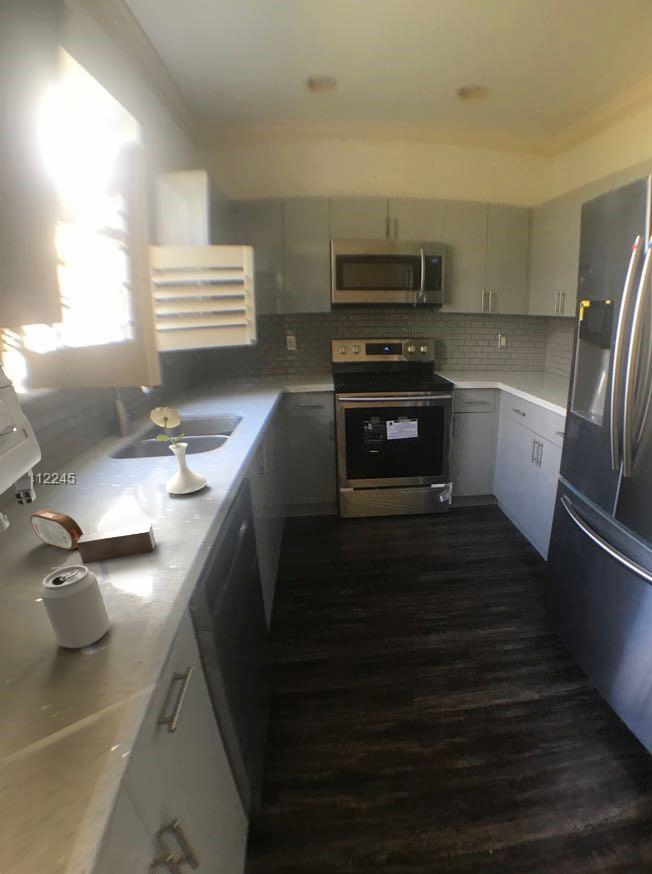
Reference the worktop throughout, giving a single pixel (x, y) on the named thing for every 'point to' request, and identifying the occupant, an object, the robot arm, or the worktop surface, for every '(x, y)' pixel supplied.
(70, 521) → the tin
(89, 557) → the brown rectangular block
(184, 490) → the flower in vase
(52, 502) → the worktop surface
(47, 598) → the can
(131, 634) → the worktop surface
